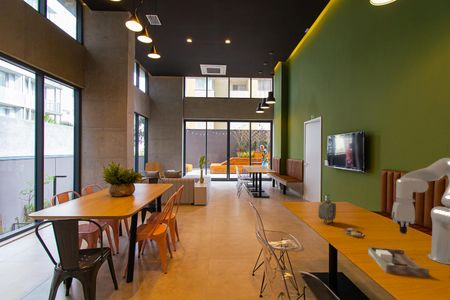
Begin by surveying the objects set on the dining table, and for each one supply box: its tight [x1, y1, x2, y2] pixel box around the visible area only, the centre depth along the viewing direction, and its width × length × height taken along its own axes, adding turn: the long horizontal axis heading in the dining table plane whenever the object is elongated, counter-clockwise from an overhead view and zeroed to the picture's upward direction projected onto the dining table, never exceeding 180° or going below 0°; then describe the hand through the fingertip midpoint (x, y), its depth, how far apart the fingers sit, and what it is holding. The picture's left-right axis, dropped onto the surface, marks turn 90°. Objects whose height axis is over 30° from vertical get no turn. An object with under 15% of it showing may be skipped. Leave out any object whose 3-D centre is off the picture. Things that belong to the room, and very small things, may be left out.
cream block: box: [376, 250, 392, 262], centre depth 141 cm, size 6×6×4 cm
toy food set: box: [343, 227, 365, 238], centre depth 186 cm, size 13×13×3 cm
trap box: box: [367, 246, 430, 278], centre depth 139 cm, size 20×24×4 cm
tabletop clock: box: [317, 194, 337, 226], centre depth 212 cm, size 14×9×25 cm, turn 131°
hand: (403, 233), depth 138 cm, fingers closed
